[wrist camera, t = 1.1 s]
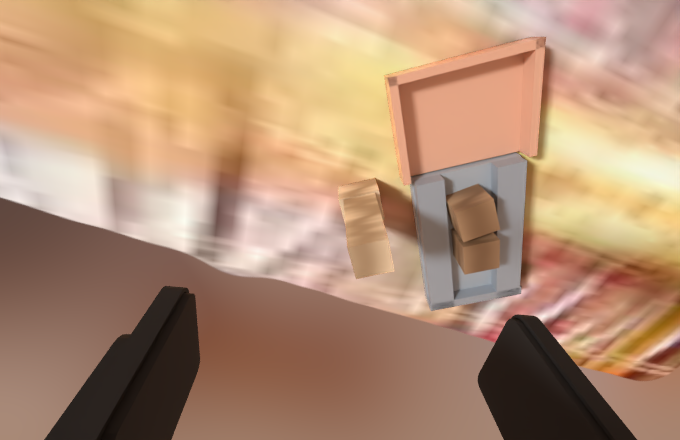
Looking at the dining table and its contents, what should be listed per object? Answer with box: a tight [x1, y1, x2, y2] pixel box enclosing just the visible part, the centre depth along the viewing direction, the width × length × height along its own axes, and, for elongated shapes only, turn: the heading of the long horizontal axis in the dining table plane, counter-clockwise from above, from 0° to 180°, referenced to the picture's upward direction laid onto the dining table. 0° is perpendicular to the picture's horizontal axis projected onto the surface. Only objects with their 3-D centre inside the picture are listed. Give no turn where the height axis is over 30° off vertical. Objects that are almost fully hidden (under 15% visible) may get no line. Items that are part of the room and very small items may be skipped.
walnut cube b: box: [446, 184, 500, 242], centre depth 35 cm, size 4×4×4 cm
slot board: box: [410, 152, 527, 311], centre depth 39 cm, size 12×19×3 cm, turn 13°
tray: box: [384, 37, 546, 185], centre depth 32 cm, size 14×11×2 cm
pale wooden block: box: [338, 178, 394, 279], centre depth 32 cm, size 4×4×12 cm
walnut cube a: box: [451, 228, 500, 275], centre depth 38 cm, size 4×4×4 cm
